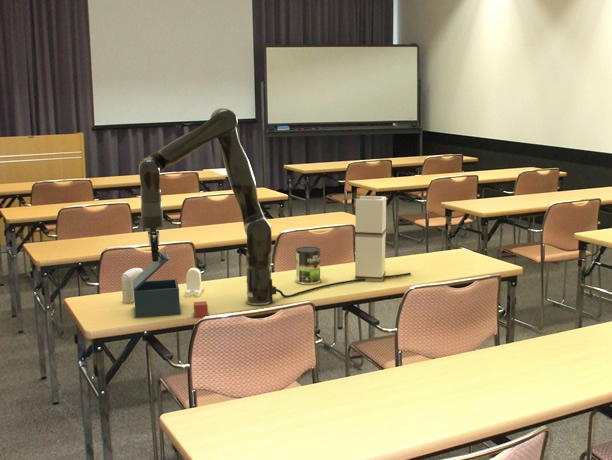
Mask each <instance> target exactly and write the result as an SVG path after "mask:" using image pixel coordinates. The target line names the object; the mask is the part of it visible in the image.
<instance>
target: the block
mask: <svg viewBox="0 0 612 460" xmlns="http://www.w3.org/2000/svg"><path fill="white" fill-rule="evenodd" d="M208 309H209V308H208V303H207V301H206V300H204V301H203V300H202V301H194V302H193V314H194V315H193V316H194V318H205V317H204V316H208V317H209V313H208V312H209V310H208Z"/></svg>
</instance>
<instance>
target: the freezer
mask: <svg viewBox="0 0 612 460" xmlns="http://www.w3.org/2000/svg"><path fill="white" fill-rule="evenodd" d="M180 303H181V302H180V287H179V283H178V279H177V278H173V279H171V278H170V279H161V280H160V279H155V280H146V281H145V282H144V283H143V284H142V285H141V286H140V287H139V288H138V289H136V290H135V291H134V314H135V316H134V317H135V319H141V318H153V317H163V316H164V317H165V316H177V315H181V306H180V305H181V304H180Z"/></svg>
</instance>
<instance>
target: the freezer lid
mask: <svg viewBox="0 0 612 460" xmlns="http://www.w3.org/2000/svg"><path fill="white" fill-rule="evenodd" d="M158 258H159V261H156V262H153V261H152V262H151V263H150V264H148V265H147V266H146V267H145V268H144V269H142V270H143V271H142V272H141V273H140V274H139V275H138V276H137V277H136V278H135V279H134V280H133V290H134V291H135V290H136V289H138V288H139V287H140V286H141V285H142V284H143V283H144V282H145V281H148V279H150V278H151V277H152V276H153V275H154V274H155V273H156V272H158V271H159V269H161V268H162V267H163V266H164V265H165V264H166V263H167V262H169V260H170V257H169V253H168V251H167V249H165V250H163V252H162V253H161V252H160V250H158Z"/></svg>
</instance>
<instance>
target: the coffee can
mask: <svg viewBox="0 0 612 460" xmlns="http://www.w3.org/2000/svg"><path fill="white" fill-rule="evenodd" d="M295 259H296V260H295V262H296V269H295V270H296V281H295V282H296V283H297V284H301V285H315V284H319V283H321V248H320V247H317V246H301V247H297V248H296V249H295Z"/></svg>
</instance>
